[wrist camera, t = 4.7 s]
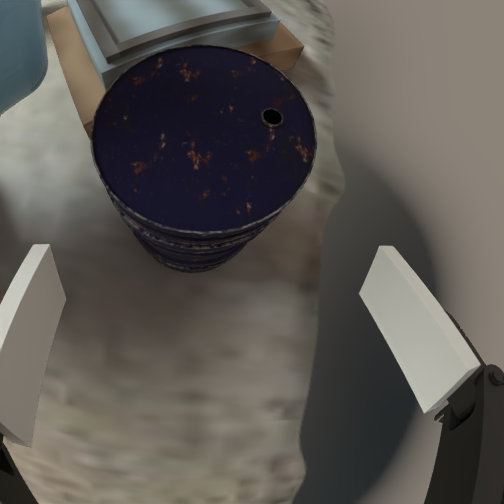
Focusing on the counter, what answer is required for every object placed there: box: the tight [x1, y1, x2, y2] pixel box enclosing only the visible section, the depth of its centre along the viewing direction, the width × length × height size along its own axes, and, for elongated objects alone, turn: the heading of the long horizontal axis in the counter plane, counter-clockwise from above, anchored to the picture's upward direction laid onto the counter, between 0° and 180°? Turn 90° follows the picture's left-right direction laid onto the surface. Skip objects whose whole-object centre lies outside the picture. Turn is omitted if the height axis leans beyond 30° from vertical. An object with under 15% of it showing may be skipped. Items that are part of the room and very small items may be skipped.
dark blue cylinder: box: [90, 44, 317, 273], centre depth 19 cm, size 10×10×15 cm
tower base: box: [46, 0, 304, 141], centre depth 24 cm, size 24×22×8 cm
